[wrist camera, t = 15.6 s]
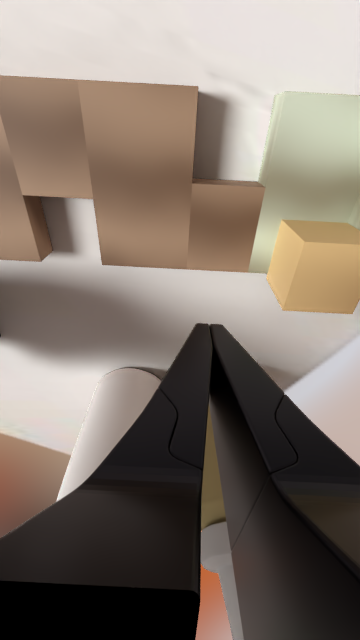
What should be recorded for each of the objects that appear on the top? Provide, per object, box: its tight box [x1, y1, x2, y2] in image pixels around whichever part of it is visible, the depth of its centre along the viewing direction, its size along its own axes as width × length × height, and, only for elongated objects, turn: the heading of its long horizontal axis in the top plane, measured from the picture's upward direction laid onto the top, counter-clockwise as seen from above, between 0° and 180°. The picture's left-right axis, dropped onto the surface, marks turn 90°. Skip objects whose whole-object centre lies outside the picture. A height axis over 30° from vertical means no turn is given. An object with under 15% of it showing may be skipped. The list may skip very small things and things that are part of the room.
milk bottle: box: [56, 368, 161, 502], centre depth 21 cm, size 8×8×20 cm
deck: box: [0, 75, 360, 274], centre depth 16 cm, size 10×27×3 cm, turn 87°
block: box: [266, 219, 360, 314], centre depth 16 cm, size 4×4×4 cm
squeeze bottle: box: [201, 407, 244, 640], centre depth 21 cm, size 8×8×18 cm
